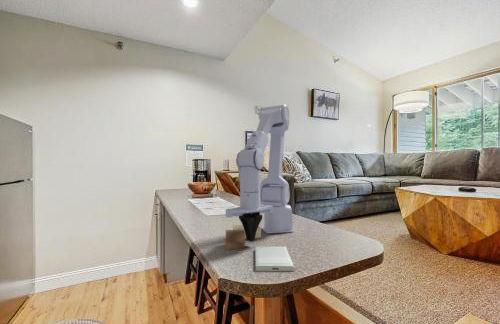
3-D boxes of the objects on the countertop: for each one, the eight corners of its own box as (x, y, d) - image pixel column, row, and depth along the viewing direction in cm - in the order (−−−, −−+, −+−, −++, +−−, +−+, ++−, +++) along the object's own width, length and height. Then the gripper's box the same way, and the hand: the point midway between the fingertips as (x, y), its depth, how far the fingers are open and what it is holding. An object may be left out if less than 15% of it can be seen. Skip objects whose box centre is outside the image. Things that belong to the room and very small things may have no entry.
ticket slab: (256, 233, 77) (256, 221, 77) (261, 237, 72) (261, 225, 72) (232, 234, 75) (232, 223, 76) (235, 239, 70) (235, 227, 70)
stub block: (243, 243, 66) (243, 229, 67) (244, 248, 62) (244, 232, 63) (225, 244, 66) (225, 229, 66) (226, 248, 62) (226, 233, 62)
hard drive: (255, 246, 61) (255, 265, 48) (286, 246, 61) (294, 265, 48) (255, 252, 61) (255, 273, 48) (286, 252, 61) (294, 273, 48)
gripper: (262, 189, 72) (263, 233, 72) (220, 191, 64) (220, 241, 64) (277, 191, 66) (277, 238, 66) (232, 194, 59) (232, 248, 58)
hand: (250, 240), depth 64 cm, fingers closed
